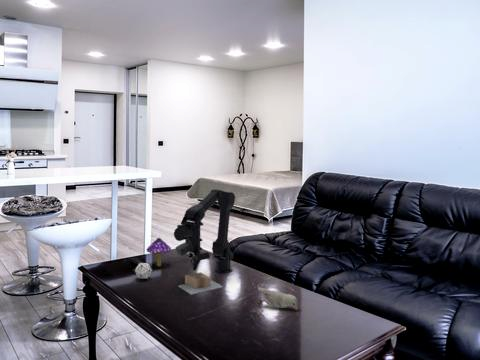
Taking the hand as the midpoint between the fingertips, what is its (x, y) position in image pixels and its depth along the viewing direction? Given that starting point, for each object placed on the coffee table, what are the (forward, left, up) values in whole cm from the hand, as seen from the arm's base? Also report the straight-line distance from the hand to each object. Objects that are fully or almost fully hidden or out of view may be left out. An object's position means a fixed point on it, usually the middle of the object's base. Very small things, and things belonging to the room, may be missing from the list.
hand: (194, 270), depth 187 cm
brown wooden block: (0, -1, -4) cm, 4 cm away
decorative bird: (-14, +43, -6) cm, 45 cm away
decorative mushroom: (+3, -32, -6) cm, 33 cm away
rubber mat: (0, +6, -6) cm, 8 cm away
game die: (+17, -18, -6) cm, 26 cm away
